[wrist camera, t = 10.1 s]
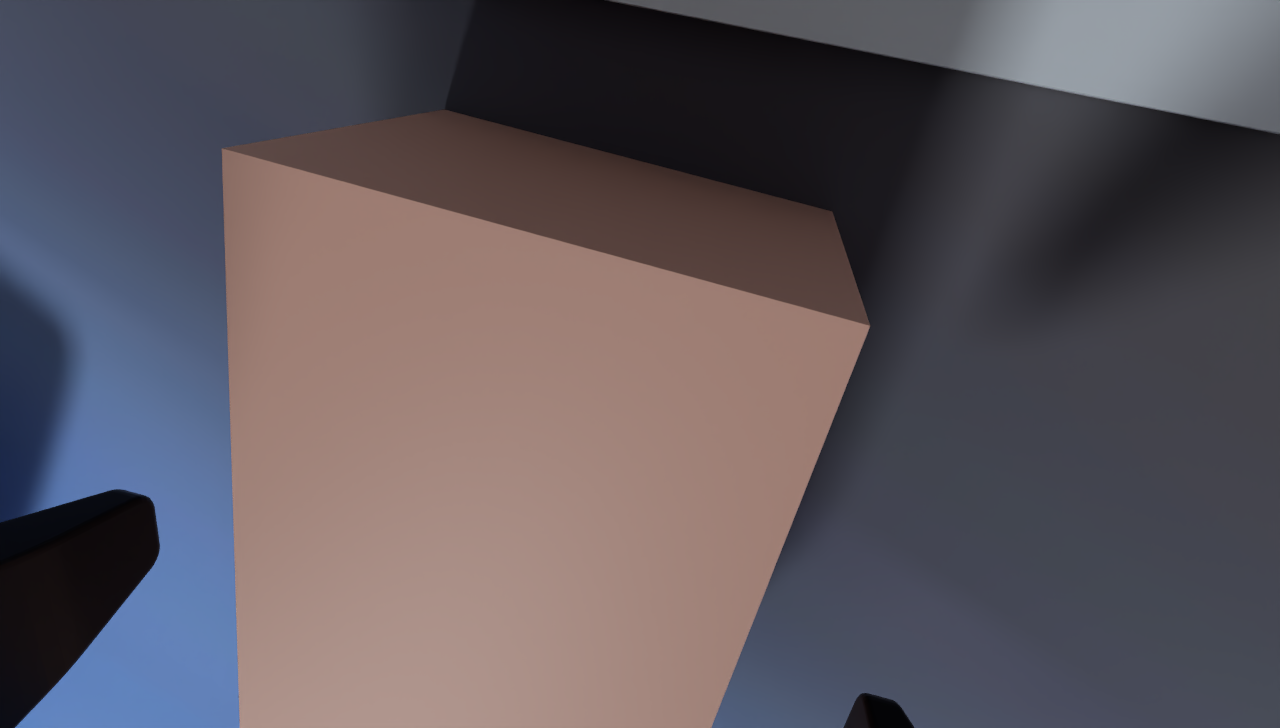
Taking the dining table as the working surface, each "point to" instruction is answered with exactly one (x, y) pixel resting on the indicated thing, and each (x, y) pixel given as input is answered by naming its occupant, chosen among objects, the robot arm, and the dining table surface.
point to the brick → (513, 424)
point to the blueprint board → (1054, 44)
